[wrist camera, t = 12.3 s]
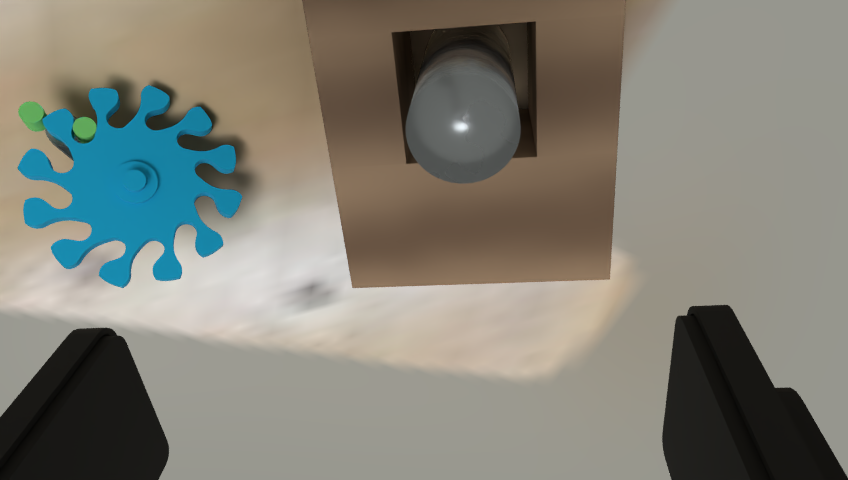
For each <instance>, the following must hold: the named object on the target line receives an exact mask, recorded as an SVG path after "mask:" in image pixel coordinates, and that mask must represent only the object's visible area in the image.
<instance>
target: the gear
mask: <svg viewBox="0 0 848 480" xmlns="http://www.w3.org/2000/svg"><path fill="white" fill-rule="evenodd" d="M89 100H90V102H91V105H92V107H93V109H94V110H95V112H96V115H97V126H96V123H95V122H94V121H93V120H92V119H91V118H88V117H80V118H78V119H77V118H75V117H74V116H72V114H71V113H70V112H69V111H68V110H67V109H60V110H57V111H54V112H52V113H51V114H49V115H46V113H45V111H44V110H43V108H42V107H41V106H40V105H39V104H38V103H35V102H26V103H24V104H22V105H21V106H20V108H19V111H18V113H19V116H20V118H21V119H22V120H23V122H24V123H25V124H26V126H27V127H28V128H29V129H30V130H32V131H43V130H45V131H46V135H47V137H48V138H49V140H50V141H51V142H52V144H53V145H55V146H56V147H57V148H58V149H59V150H61V151H62V152H63V153H64V154H66V155H67V156H68V157H69V158H71V159H72V160H73V161H74V166H73V168H72V169H71V170H70V171H69V172H66V173H57V172H55V171H54V170H53V168H52V165H51V162H50V160H49V159H48V158H47V156H46V155H45V154H44V153H43V152H42V151H40V150H37V149H30V150H29V151H28V152H27V153H26V154H25V155H24V156H23V158H22V160H21V162H20V164H19V166H18V170H19V171H20V172H21V173H22V174H23V175H24V176H25V177H27V178H29V179H31V180H44V181H49V182H53V183H56V184H58V185H60V186H61V187H63V188H64V189H66V190H67V191H68V192H69V193H71V194H72V197H73V200H72V203H71V204H70V206H68V207H67V208H65V209H56V208H54V207H52V206H51V205H49V204H48V203H47V202H46V201H44V200H42V199H40V198H29V199H27V200H25V203H24V209H23V211H24V219H25V224H27V225H28V226H30V227H32V228H36V229H38V228H44V227H46V226H48V225H50V224H52V223H55V222H59V221H67V220H71V221H79V222H84V223H88V224H90V225H91V228H92V232H91V235H90V236H89V237H88V238H87V239H86V240H83V241H75V240H69V239H62V240H59V241H57V242H55V243H54V244H53V245H52V246H51V250H52V253H53V254H54V256H55V258H56V259H57V260H58V261H59V263H60V264H61V265H62V266H63V267H64V268H66V269H72V268H75V267H77V266H78V265H79V264H80V263H81V262H82V260H83V258H84V257H85V256H86V255H87V254H88V253H89V252H90V251H91V250H92V249H94V248H95V247H97V246H99V245H102V244H104V243H107V242H111V241H115V240H118V241H121V242H123V243H124V244H125V246H126V251H125V253H124V255H123V256H122V257H121V258H118V259H115V260H112V261H109V262H107V263H105V264H104V265H103V266H102V267H101V269H100V272H99V276H100V277H101V278H102V279H103V280H105V281H106V282H108V283H110V284H112V285H115V286H118V287H121V288H124V287H125V286H127V284H128V283H129V282H130V279H131V267H132V263H133V260H134V258H135V256H136V255H137V253H138V252H139V251H140V250H141V249H142V248H143V247H144V246H145V244H147V243H148V242H150V241H158V242H161V243H162V244H163V245H164V247H165V250H164V253H163V255H162V256H161V257H160V258H159V259H158V260H157V261H156V263H155V264H154V266H153V275H154V277H155V279H156V280H160V281H171V280H177V279H180V278H181V275H182V267H181V264H180V263H179V261H178V260H177V258H176V256H175V253H174V238H175V233H176V230H177V228H178V227H179V226H181V225H184V224H189V225H192V226H193V227H194V228H195V229H196V231H197V237H196V242H195V247H196V251H197V253H198V254H199V255H200V256H202V257H206V256H209V255H211V254H213V253H214V252H216V251H217V250H219V249H220V248H221V247H222V246H223V240H222V237H221V236H220V235H219V234H218V233H217V232H215V231H213V230H211V229H210V228H208V227H207V226H206V225H205V224H204V223H203V222H202V220H201V219H200V217H199V215H198V213H197V211H196V208H195V205H194V203H195V201H196V199H197V198H198V197H200V196H208V197H210V198H212V199H213V200H214V202H215V205H216V208H217V210H218V212H219V213H220V214H221V215H222V216H224V217H227V218H231V217H232V216H233V215H234V214H235V213H236V211H237V209H238V207H239V205H240V202H241V199H242V195H241V194H240V193H239V192H237V191H235V190H225V189H219V188H216V187H213V186H211V185H209V184H208V183H206V182H205V181H203V180H202V179H201V178H200V177H199V176H198V175H197V174H196V173H195V168H196V167H197V166H198V165H199V164H201V163H208V164H210V165H212V166H213V167H214V168H215V169H216V170H218V171H219V172H221V173H225V174H229V173H232V172H234V169H235V164H236V155H235V150H234V147H233V146H231V145H222V146H219V147H218V148H216V149H213V150H209V151H193V150H189V149H184V148H182V147H180V146H179V144H178V143H177V140H178V138H179V137H180V136H182V135H184V134H190V135H195V136H205V135H207V134H209V133H210V132H211V130H212V123H211V120H210V118H209V117H208V115H207V114H206V113H205V111H204V110H203V109H202V108H201V107H194V108H192V109H190V110H189V111H188V113H187V114H186V116H185V117H184V118H183V119H182V120H181V121H180V122H179V123H178V124H176V125H174V126H172V127H169V128H166V129H162V130H157V131H156V130H151V129H149V128H148V127H147V126H146V122H147V120H148V119H149V118H150V117H152V116H156V115H160V114H163V113H165V112H166V111H167V110H168V108H169V106H170V99H169V96H168V95H167V94H166V93H165V92H163V91H161V90H159V89H157V88H155V87H152V86H150V85H148V86H146V87H145V88H144V89H143V91H142V93H141V105H140V108H139V111H138V113H137V114H136V116H135V117H134V118H133V119H132V120H131V121H130V122H129V123H128V124H127V125H126V126H125V127H123V128H114V127H112V126H110V125H109V124H108V120H109V118H110V117H111V116H112V115H113V114H114V113H115V112H116V111H117V110H118V109H119V107H120V100H119V96H118V93H117V91H116V90H114V89H110V88H94V89H91V90H90V92H89Z"/></svg>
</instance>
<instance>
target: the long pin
mask: <svg viewBox="0 0 848 480" xmlns="http://www.w3.org/2000/svg"><path fill="white" fill-rule="evenodd" d="M520 131H521V126H520V118H519V111H518V104H517V97H516V90H515V83H514V76H513V69H512V62H511V56H510V49H509V44H508V41H507V38H506V36H505V34H504V32H503V31H502V30H501V28H500V27H499V26H498V25H497V24H495V25H481V26H468V27H455V28H442V29H435V31H434V32H433V33H432V35H431V37H430V39H429V42H428V45H427V48H426V52H425V55H424V59H423V62H422V66H421V70H420V73H419V77H418V80H417V84H416V87H415V91H414V94H413V98H412V101H411V105H410V108H409V112H408V116H407V120H406V138H407V143H408V146H409V149H410V151H411V153H412V155H413V157H414V158H415V160H416V161H417V162H418V163H419V165H420V166H421V167H422V168H423V169H425V170H426V171H427V172H428V173H430V174H431V175H433V176H435V177H437V178H439V179H441V180H444V181H447V182H451V183H459V184H467V183H475V182H479V181H482V180H485V179H487V178H489V177H491V176H493V175H495V174H496V173H498V172H499V171H500V170H502V169H503V168H504V167H505V166H506V165H507V164H508V162H509V161H510V160H511V158H512V157H513V155H514V153H515V151H516V149H517V147H518V144H519V139H520Z"/></svg>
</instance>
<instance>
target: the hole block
mask: <svg viewBox="0 0 848 480" xmlns="http://www.w3.org/2000/svg"><path fill="white" fill-rule="evenodd" d="M302 1H303V7H304V13H305V18H306V24H307V30H308V35H309V41H310V47H311V53H312V58H313V64H314V70H315V76H316V81H317V87H318V93H319V99H320V104H321V110H322V116H323V121H324V127H325V133H326V139H327V144H328V150H329V156H330V162H331V167H332V173H333V179H334V184H335V190H336V196H337V202H338V207H339V213H340V219H341V225H342V230H343V236H344V242H345V248H346V253H347V259H348V265H349V270H350V276H351V282H352V288H367V287H396V286H426V285H456V284H486V283H515V282H545V281H575V280H605V279H610V268H611V250H612V233H613V215H614V196H615V180H616V162H617V145H618V127H619V109H620V92H621V75H622V57H623V40H624V22H625V5H626V0H302ZM521 22H527V40H528V109H518V111H519V118H520V126H521V131H520V139H519V144H518V147H517V149H516V151H515V153H514V155H513V157H512V158H511V160H510V161H509V162H508V164H507V165H506V166H505V167H504V168H503V169H502V170H500V171H499V172H498V173H496V174H495V175H493V176H491V177H489V178H487V179H485V180H482V181H479V182H475V183H467V184H459V183H451V182H447V181H444V180H441V179H439V178H437V177H435V176H433V175H431V174H430V173H428V172H427V171H426V170H425V169H423V168H422V167H421V166H420V165H419V163H418V162H417V161H416V160H415V158H414V157H413V155H412V153H411V151H410V149H409V146H408V143H407V138H406V120H407V116H408V112H409V108H410V105H411V101H412V98H413V94H414V91H415V81H414V71H413V61H412V51H411V41H410V31H416V30H429V29H442V28H455V27H468V26H481V25H495V24H508V23H521Z"/></svg>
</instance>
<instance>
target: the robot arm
mask: <svg viewBox="0 0 848 480" xmlns="http://www.w3.org/2000/svg"><path fill="white" fill-rule="evenodd" d="M662 437H663V438H662V440H663V451H664V456H665V460H666V462H667V466H668V469H669V473H670V476H671V479H672V480H848V478H847V476H846V474H845V473H844V471H843V469H842V467H841V466H840V464H839V462H838V460H837V459H836V457H835V455H834V454H833V452H832V450H831V448H830V447H829V445H828V443H827V442H826V440H825V438H824V436H823V435H822V433H821V432H820V429H819V428H818V426H817V424H816V423H815V421H814V419H813V418H812V416H811V414H810V412H809V411H808V409H807V407H806V405H805V404H804V402H803V400H802V399H801V397H800V396H799V395H798V393H797V392H796V391H795V390H793V389H792V388H775V387H774V385H773V384H772V382H771V380H770V378H769V376H768V374H767V373H766V371H765V369H764V367H763V365H762V363H761V361H760V360H759V358H758V356H757V354H756V352H755V350H754V349H753V347H752V345H751V343H750V341H749V339H748V338H747V336H746V334H745V332H744V330H743V328H742V327H741V325H740V323H739V321H738V319H737V317H736V316H735V314H734V312H733V310H732V309H731V308H730V306H728V305H714V306H713V305H712V306H692V307H690V308H689V310H688V314H687V316H678V317H677V319H676V323H675V331H674V340H673V348H672V356H671V365H670V374H669V383H668V391H667V400H666V408H665V417H664V425H663V436H662ZM168 456H169V446H168V442H167V439H166V437H165V434H164V432H163V430H162V427H161V425H160V422H159V420H158V418H157V415H156V413H155V410H154V408H153V406H152V403H151V401H150V398H149V396H148V394H147V392H146V389H145V386H144V384H143V381H142V379H141V377H140V374H139V372H138V369H137V367H136V365H135V362H134V360H133V358H132V355H131V353H130V350H129V348H128V345H127V343H126V341H125V339H124V338H123V337H121V336H117V334H116V333H115V331H113V330H112V329H110V328H87V329H76V330H73V331H72V332H71V333H70V334H69V335H68V336H67V338H66V339H65V340H64V341H63V342H62V344H61V345H60V346H59V347H58V348H57V350H56V351H55V352H54V353H53V354H52V356H51V357H50V358H49V359H48V360H47V362H46V363H45V364H44V365H43V366H42V368H41V369H40V370H39V371H38V373H37V374H36V375H35V376H34V377H33V379H32V380H31V381H30V382H29V383H28V384H27V386H26V387H25V388H24V389H23V390H22V392H21V393H20V394H19V395H18V397H17V398H16V399H15V400H14V401H13V403H12V404H11V405H10V406H9V407H8V409H7V410H6V411H5V412H4V413H3V415H2V416H1V417H0V480H158V479H159V477H160V475H161V473H162V471H163V469H164V467H165V465H166V463H167V460H168Z"/></svg>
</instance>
